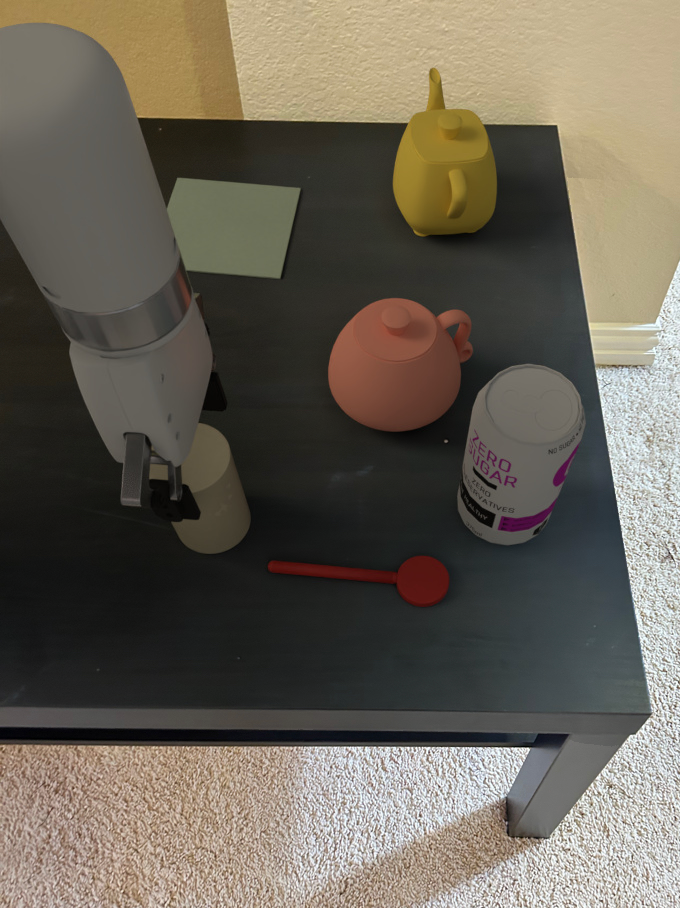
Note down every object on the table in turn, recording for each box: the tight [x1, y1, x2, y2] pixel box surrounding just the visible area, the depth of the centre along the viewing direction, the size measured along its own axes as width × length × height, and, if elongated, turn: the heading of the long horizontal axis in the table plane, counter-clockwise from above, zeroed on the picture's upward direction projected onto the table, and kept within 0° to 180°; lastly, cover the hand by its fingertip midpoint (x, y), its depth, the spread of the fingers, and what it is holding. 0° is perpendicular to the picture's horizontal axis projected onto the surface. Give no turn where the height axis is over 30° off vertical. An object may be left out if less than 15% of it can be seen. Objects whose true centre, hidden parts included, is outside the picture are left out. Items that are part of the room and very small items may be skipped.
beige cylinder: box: [149, 422, 252, 555], centre depth 61 cm, size 6×6×10 cm
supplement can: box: [456, 363, 587, 546], centre depth 60 cm, size 8×8×15 cm
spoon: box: [267, 555, 450, 608], centre depth 63 cm, size 15×4×1 cm, turn 85°
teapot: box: [392, 67, 498, 237], centre depth 79 cm, size 18×11×11 cm, turn 8°
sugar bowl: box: [327, 297, 474, 433], centre depth 68 cm, size 12×14×10 cm
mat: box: [166, 177, 302, 280], centre depth 82 cm, size 14×14×1 cm
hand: (194, 459), depth 57 cm, fingers open, 9 cm apart
